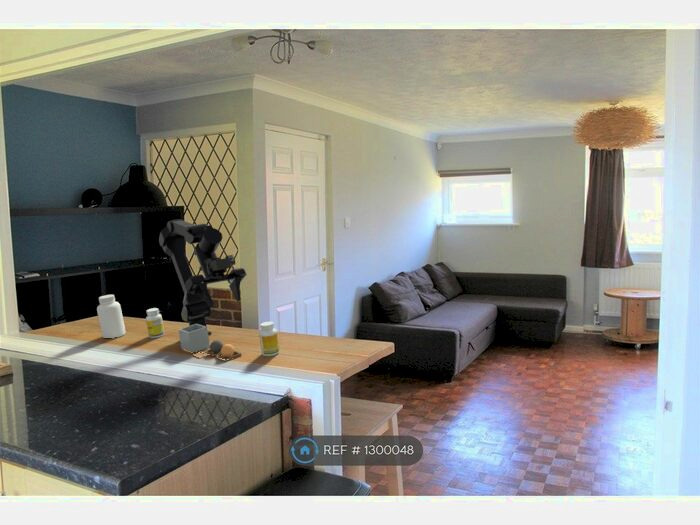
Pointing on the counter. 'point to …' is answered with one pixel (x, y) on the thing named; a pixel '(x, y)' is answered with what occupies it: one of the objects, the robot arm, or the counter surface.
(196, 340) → the grey open box
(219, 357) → the holder
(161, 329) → the supplement bottle
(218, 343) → the gray ball
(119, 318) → the pill bottle
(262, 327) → the supplement bottle
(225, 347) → the orange ball
